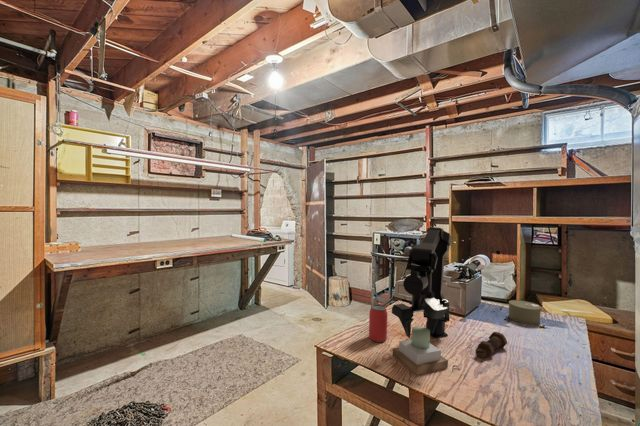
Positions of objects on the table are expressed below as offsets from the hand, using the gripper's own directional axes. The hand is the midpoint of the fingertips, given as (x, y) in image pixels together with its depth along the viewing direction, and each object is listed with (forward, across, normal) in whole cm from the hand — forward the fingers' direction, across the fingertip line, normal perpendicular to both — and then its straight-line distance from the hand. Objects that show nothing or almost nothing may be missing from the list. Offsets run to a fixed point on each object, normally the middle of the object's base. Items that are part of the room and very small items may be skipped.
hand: (420, 334), depth 94 cm
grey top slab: (+6, 0, 0) cm, 7 cm away
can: (+9, +69, +12) cm, 71 cm away
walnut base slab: (+10, 0, 0) cm, 10 cm away
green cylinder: (+4, 0, 0) cm, 4 cm away
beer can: (+9, -4, +18) cm, 20 cm away
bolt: (+9, +28, -3) cm, 29 cm away
